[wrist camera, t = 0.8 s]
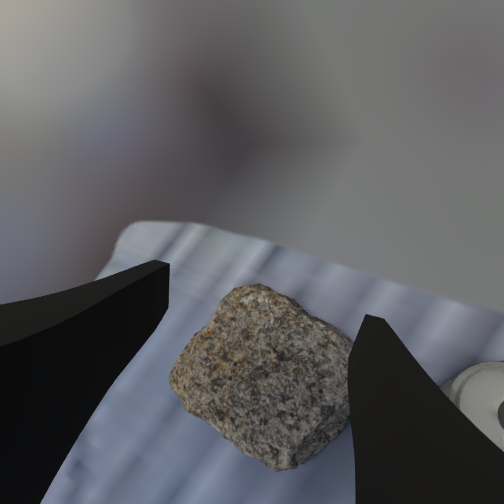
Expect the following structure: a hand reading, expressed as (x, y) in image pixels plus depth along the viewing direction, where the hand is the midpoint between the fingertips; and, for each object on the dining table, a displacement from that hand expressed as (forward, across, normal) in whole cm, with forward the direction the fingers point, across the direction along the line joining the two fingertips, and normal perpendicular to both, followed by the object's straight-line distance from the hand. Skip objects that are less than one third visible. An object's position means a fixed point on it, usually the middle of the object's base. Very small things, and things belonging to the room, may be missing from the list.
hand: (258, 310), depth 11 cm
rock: (+12, -2, +15) cm, 19 cm away
